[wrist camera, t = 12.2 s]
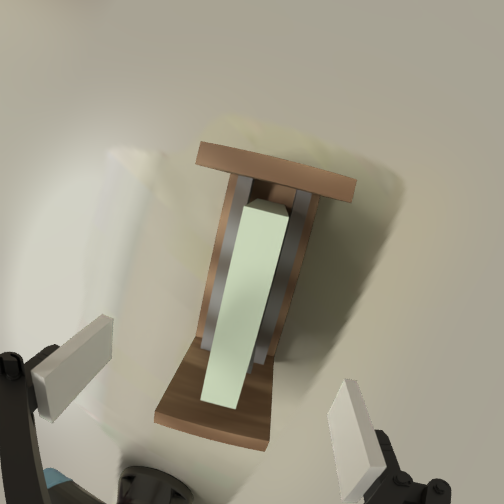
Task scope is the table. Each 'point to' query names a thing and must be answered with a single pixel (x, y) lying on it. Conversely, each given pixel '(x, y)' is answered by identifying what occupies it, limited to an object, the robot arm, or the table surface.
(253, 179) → the wooden rail bracket
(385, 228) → the table surface
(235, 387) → the door panel
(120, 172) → the table surface
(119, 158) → the table surface
